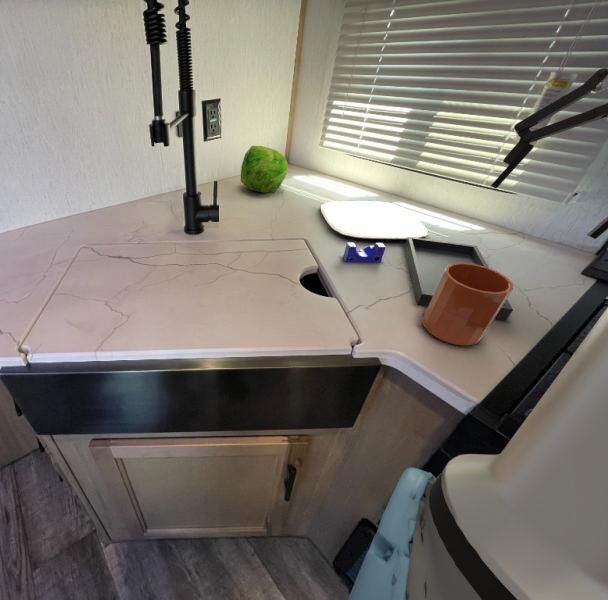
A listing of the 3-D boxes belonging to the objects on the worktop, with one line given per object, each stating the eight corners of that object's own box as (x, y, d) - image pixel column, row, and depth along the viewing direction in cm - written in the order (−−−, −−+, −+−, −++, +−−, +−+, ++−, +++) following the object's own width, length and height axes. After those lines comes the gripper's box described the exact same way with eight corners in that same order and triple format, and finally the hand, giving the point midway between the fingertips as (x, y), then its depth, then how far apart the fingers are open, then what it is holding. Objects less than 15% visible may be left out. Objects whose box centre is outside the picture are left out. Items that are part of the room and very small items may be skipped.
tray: (505, 321, 63) (513, 309, 62) (417, 304, 67) (422, 293, 66) (471, 255, 83) (476, 245, 81) (404, 246, 87) (407, 236, 85)
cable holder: (374, 255, 83) (379, 239, 80) (380, 262, 80) (385, 247, 78) (341, 254, 83) (345, 239, 81) (345, 262, 80) (349, 246, 78)
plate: (396, 206, 108) (398, 201, 107) (437, 244, 87) (439, 238, 86) (313, 205, 108) (314, 200, 107) (335, 243, 88) (336, 236, 87)
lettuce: (277, 180, 128) (292, 144, 118) (275, 209, 114) (292, 170, 104) (239, 169, 128) (251, 131, 118) (232, 196, 114) (245, 156, 104)
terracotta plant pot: (492, 344, 58) (528, 290, 52) (445, 351, 57) (475, 296, 51) (452, 311, 66) (479, 260, 59) (409, 316, 64) (432, 265, 58)
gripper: (840, 96, 37) (631, 258, 48) (583, 23, 47) (461, 171, 59) (897, 76, 31) (646, 264, 43) (592, -2, 42) (455, 167, 53)
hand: (539, 211), depth 51 cm, fingers open, 13 cm apart
